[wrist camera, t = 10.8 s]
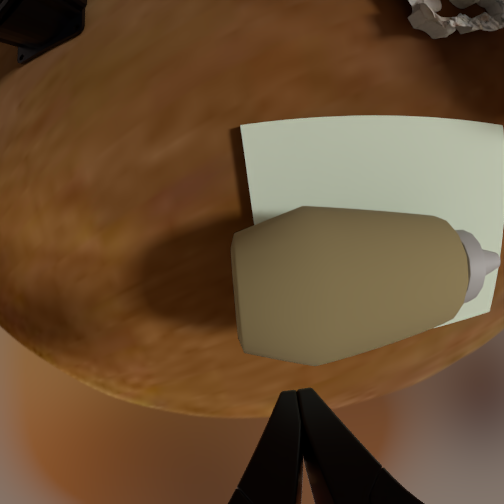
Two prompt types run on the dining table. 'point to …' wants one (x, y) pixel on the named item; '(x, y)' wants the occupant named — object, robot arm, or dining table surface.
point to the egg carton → (424, 17)
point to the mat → (384, 173)
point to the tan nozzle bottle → (349, 281)
